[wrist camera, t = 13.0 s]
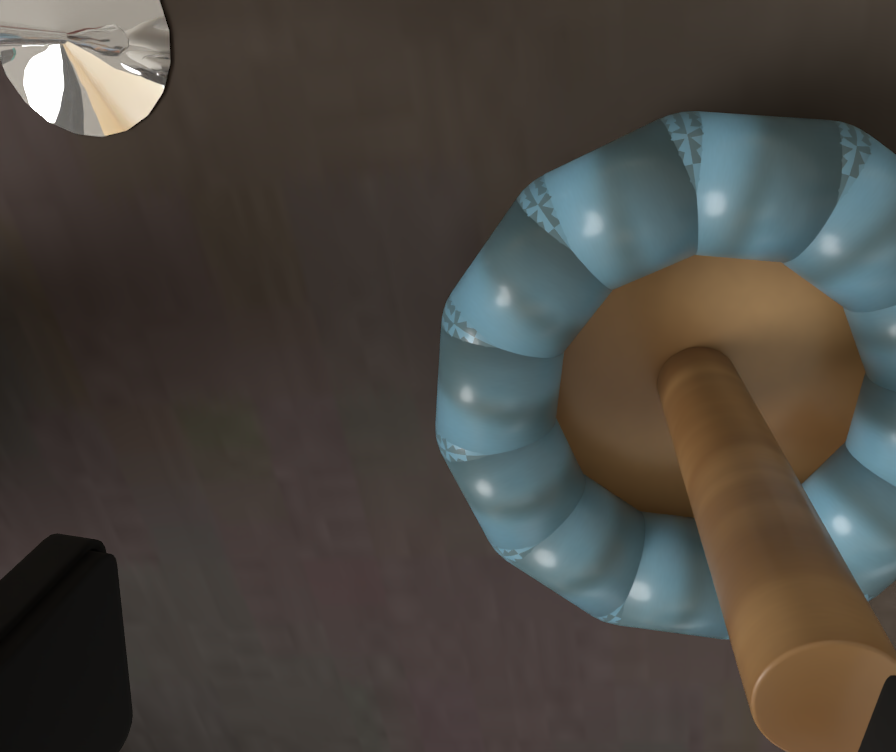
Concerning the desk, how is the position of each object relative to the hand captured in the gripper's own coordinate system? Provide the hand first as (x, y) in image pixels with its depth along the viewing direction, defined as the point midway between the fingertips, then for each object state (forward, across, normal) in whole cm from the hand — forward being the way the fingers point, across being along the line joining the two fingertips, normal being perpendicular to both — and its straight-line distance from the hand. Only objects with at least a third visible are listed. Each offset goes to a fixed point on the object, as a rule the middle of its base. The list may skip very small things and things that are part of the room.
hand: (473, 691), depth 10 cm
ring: (+10, -4, 0) cm, 11 cm away
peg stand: (+13, -4, 0) cm, 14 cm away
